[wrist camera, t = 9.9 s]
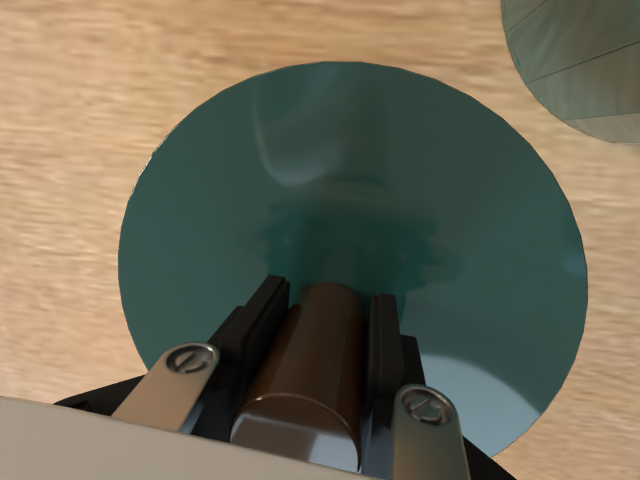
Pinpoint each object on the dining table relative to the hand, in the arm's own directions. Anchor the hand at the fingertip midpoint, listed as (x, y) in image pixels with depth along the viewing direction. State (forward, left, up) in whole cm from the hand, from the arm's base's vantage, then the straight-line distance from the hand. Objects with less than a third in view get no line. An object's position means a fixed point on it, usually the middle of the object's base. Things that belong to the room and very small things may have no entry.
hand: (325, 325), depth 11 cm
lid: (0, 0, -1) cm, 1 cm away
